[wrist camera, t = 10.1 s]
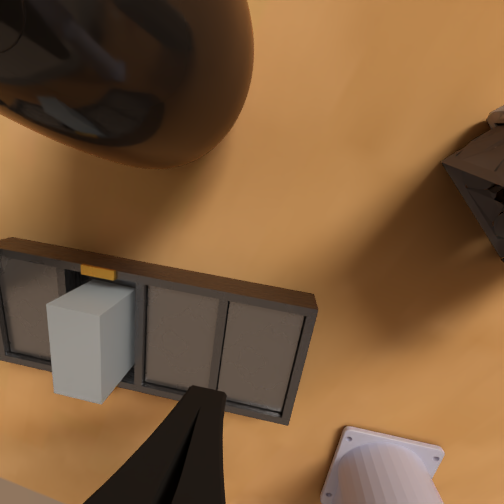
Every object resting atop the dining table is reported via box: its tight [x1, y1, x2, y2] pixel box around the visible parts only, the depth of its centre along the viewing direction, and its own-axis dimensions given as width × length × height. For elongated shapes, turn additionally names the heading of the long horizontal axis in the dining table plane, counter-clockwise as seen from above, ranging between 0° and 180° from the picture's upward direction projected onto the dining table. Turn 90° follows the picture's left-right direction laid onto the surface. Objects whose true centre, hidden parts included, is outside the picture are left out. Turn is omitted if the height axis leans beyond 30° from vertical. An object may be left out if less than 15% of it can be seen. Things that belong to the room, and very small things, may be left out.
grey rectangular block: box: [46, 279, 136, 404], centre depth 18 cm, size 7×4×4 cm, turn 170°
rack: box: [0, 237, 318, 426], centre depth 19 cm, size 10×24×2 cm, turn 81°
